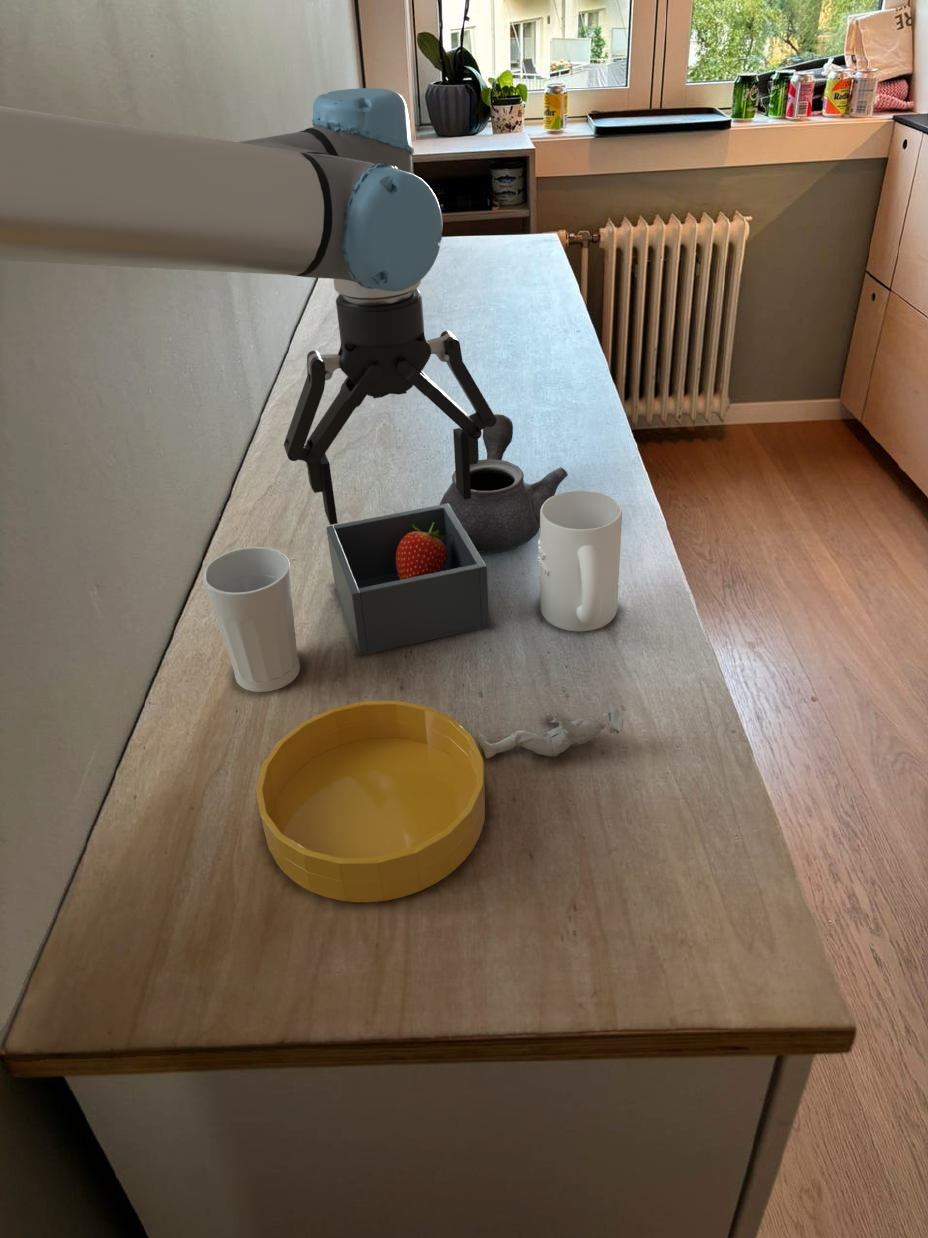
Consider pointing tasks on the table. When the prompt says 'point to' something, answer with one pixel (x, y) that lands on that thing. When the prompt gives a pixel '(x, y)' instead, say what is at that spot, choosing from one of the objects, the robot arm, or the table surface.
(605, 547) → the mug
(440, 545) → the fruit
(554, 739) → the soldier figure
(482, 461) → the teapot
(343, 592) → the bin
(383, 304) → the robot arm
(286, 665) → the cup
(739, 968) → the table surface
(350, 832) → the bowl
